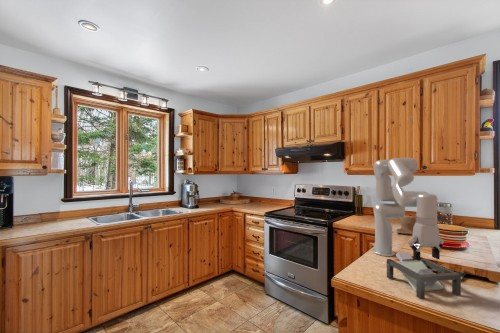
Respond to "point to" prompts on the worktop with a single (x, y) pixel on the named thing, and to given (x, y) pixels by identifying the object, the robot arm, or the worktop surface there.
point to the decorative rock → (441, 272)
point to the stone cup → (406, 225)
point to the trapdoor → (415, 270)
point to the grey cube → (425, 272)
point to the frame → (427, 276)
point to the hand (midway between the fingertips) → (426, 258)
